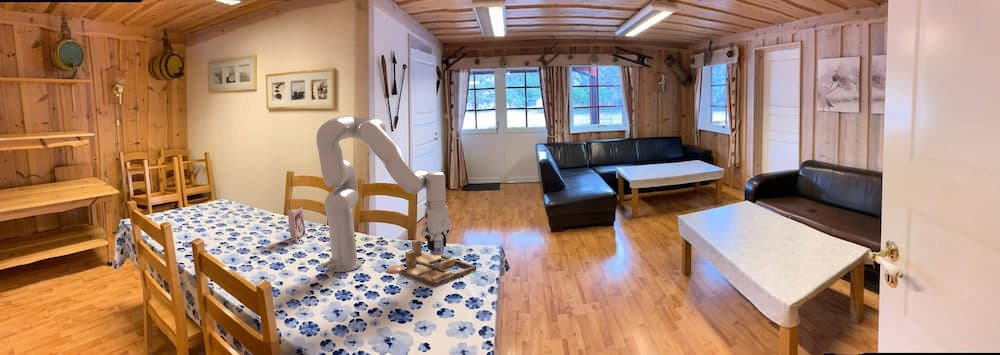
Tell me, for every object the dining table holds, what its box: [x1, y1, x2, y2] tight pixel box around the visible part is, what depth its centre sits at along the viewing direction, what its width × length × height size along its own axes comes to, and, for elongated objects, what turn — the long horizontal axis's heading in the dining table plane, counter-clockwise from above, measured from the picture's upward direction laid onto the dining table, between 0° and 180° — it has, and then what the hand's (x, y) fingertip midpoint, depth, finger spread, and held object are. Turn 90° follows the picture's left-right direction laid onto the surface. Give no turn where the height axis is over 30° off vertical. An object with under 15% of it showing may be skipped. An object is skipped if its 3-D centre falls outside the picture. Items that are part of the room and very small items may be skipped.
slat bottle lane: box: [411, 239, 456, 270], centre depth 200 cm, size 8×20×7 cm, turn 46°
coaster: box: [386, 265, 406, 274], centre depth 193 cm, size 7×7×1 cm
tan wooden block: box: [404, 249, 433, 276], centre depth 190 cm, size 8×9×7 cm
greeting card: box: [286, 206, 306, 243], centre depth 235 cm, size 11×7×15 cm, turn 1°
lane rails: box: [400, 254, 477, 288], centre depth 189 cm, size 21×20×2 cm
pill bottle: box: [429, 233, 445, 257], centre depth 194 cm, size 6×5×10 cm
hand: (437, 247), depth 195 cm, fingers closed on pill bottle, 5 cm apart
